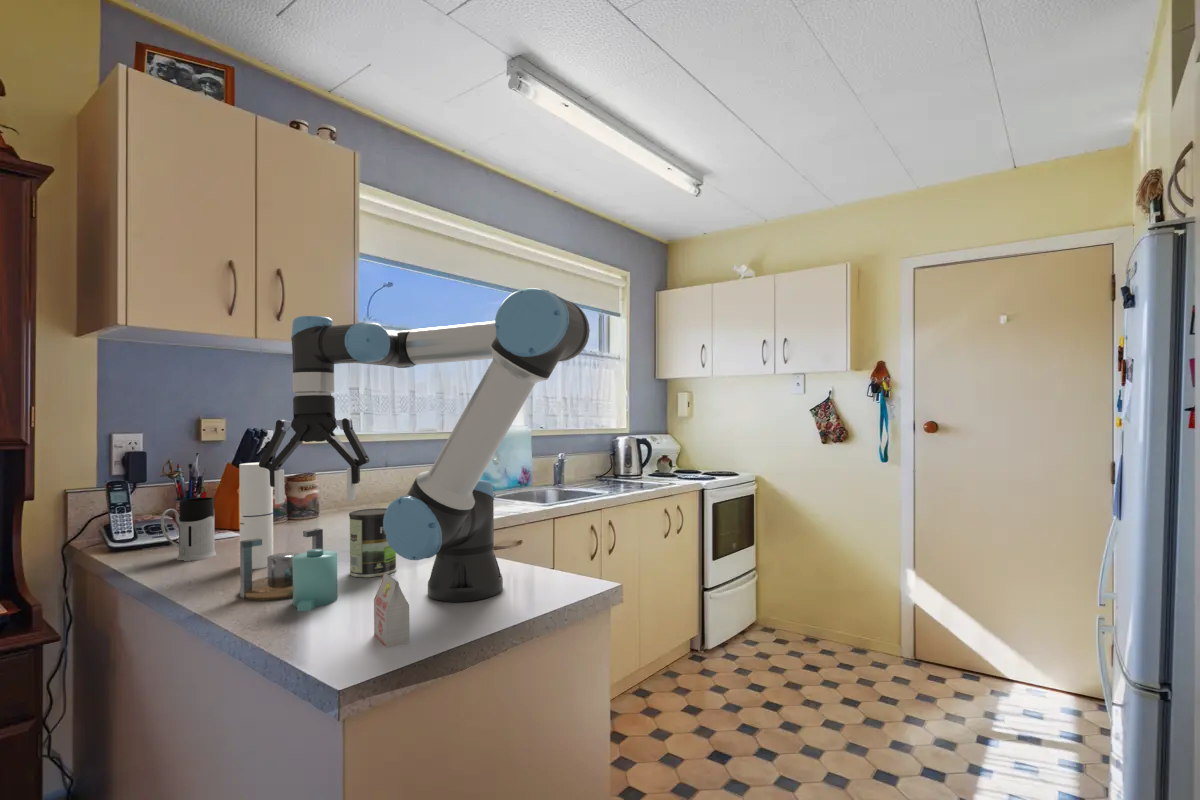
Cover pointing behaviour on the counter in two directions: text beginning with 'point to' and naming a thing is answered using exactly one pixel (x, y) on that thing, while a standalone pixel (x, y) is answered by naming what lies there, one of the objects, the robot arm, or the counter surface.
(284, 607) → the counter surface
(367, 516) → the coffee can
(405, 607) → the milk carton
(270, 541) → the cylindrical container
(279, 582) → the post fixture
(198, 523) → the white and black mug
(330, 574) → the teal plastic cylinder
